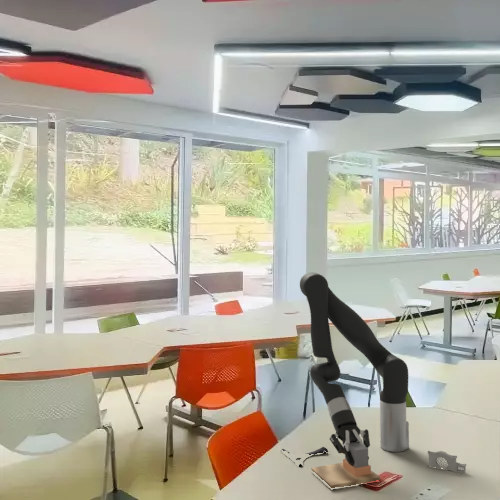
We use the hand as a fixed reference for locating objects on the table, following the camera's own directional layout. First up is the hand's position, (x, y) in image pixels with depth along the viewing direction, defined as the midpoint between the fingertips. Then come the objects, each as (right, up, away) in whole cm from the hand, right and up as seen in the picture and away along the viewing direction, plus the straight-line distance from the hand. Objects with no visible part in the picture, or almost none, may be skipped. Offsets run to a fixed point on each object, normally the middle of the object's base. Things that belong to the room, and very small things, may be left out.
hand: (359, 462), depth 176 cm
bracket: (-14, -5, +18) cm, 24 cm away
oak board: (-5, -5, +1) cm, 7 cm away
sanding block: (-1, -3, +2) cm, 4 cm away
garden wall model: (+30, -4, +5) cm, 30 cm away
